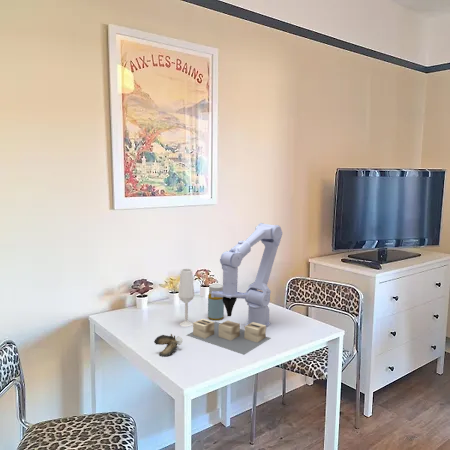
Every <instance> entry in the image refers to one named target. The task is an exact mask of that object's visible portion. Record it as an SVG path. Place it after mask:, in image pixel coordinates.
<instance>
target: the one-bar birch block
mask: <svg viewBox="0 0 450 450" xmlns="http://www.w3.org/2000/svg"><path fill="white" fill-rule="evenodd" d="M244 330H245V337H244V339H248V340H251V341H254V342H259V341H261V340H262V339H264V338H266V337H267V336H266V335H267V334H266V332H267V326H266V325H262V324H259V323H255V322H252V323H250V324H248V325H246V326H244Z"/></svg>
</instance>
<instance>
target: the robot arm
mask: <svg viewBox="0 0 450 450" xmlns="http://www.w3.org/2000/svg"><path fill="white" fill-rule="evenodd" d="M282 236H283V230H282V228H281V226H280V225H278V224H269V223H264V222H260V223H258V224H257V226H255V230H254V231H253V232H252V233H251V234H250V235H249V236H248V237H247V238H246V240H239V241H238V242H237V243H236V244H235V245H234V246H233V247H231V248H230V249H229V250H228V251H227V250H226V251H224V252H223V253H222V254H221V256H220V258H219V262H220V264H221V269H222V285H223V291H212V292H211V297H223V300H222V301H223V303H224V308H225V310H226V314H227V315H226V316H227V317H232V314H233V309H234V306H235V304H236V302H237V299H240V300H245V303H247V304H246V305H247V306H248V317H247V322H246V323H245V324H244V325H243V326H244V327H245V326H246V325H248V324H250V323H252V322H255V323H259V324H262V325H266V327H268V326H269V325H272V323H271V322H270V307H269V304H270V302H271V301H270V300H271V292H272V291H271V289H270V287H269V286H268V283H269V280H270V279H269V278H270V276H271V274H272V273H271V272H272V269H273V266H274V262H275V260H276V255H277V252H278V249H279V246H280V243H281V239H282ZM259 242H261V243H262V244H263V246H264V249H263V253H262V257H261V259H260V264H259V267H258V268H257V269H258V270H257V273H256V276H255V279H254V282H252V283H250V284H249V285H248V288H247V290H246V291H245V292H241V291H238V279H239V278H238V275H239V274H238V272H239V267H240V265H241V264H242V261H243V259H244V258H245V257H246V256H247V255H248V254H249V253H250V252H251V251H252V250H251V249H252V247H253V246H254V245H256V244H258V243H259Z"/></svg>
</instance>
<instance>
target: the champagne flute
mask: <svg viewBox="0 0 450 450" xmlns="http://www.w3.org/2000/svg"><path fill="white" fill-rule="evenodd" d="M179 274H180V276H179V285H178V286H179V288H178V299H180V301H181V302H182V303H184V320H183V321H181V322H180V323H179V326H180V327H184V328H185V327H191V326H193V323H194V322H191V321H189V320H188V318H189V315H188V313H189V306H188V305H189V303H190V302H192V300H194V297H195V286H194V277H193V274H194V273H193V269H191V268H182V269H180V273H179Z"/></svg>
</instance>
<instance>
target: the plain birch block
mask: <svg viewBox="0 0 450 450" xmlns="http://www.w3.org/2000/svg"><path fill="white" fill-rule="evenodd" d="M220 323H221V324H219V337H221V338H224V339H227V340H233V339H235V338H236V337H238V336H240V329H241V324H240V323H239V322H236V321H235V322H234V321H232V320H228V319H227V320H226V321H223V322H220Z"/></svg>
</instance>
